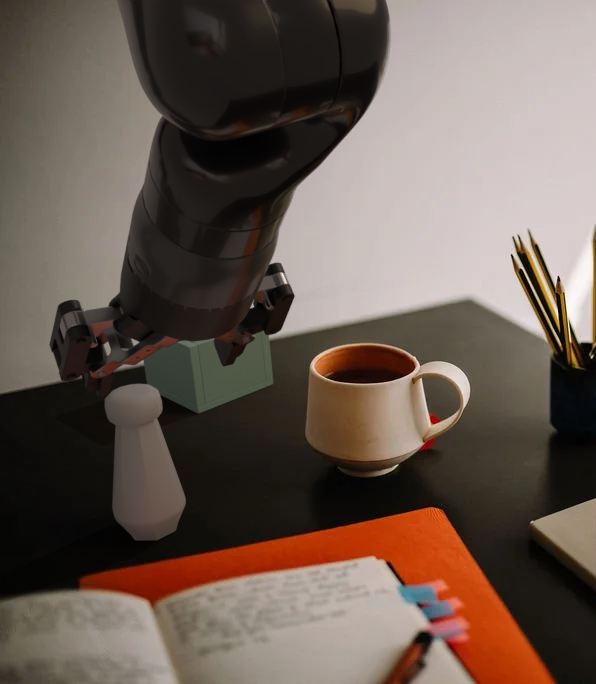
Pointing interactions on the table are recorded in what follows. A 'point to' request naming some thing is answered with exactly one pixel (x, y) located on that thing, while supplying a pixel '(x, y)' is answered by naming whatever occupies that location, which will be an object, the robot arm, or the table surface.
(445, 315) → the table surface
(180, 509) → the salt shaker
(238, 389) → the green open box
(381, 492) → the table surface
